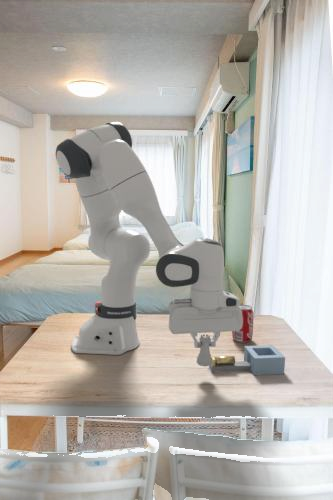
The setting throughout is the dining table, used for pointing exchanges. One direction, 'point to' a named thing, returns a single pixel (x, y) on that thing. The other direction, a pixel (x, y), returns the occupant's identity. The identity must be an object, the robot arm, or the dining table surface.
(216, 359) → the lock pin
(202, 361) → the rook chess piece
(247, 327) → the soda can
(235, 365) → the mount
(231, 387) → the dining table surface
